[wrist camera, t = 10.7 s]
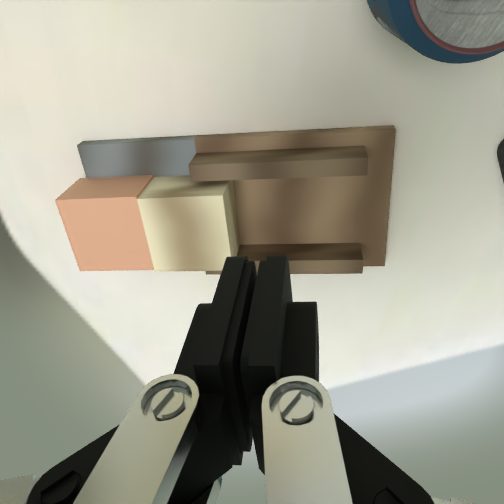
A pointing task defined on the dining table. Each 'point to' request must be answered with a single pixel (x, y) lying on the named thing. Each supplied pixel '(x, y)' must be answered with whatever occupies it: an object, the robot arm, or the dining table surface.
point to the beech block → (189, 223)
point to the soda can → (445, 27)
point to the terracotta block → (106, 223)
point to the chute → (280, 188)
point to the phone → (501, 157)
